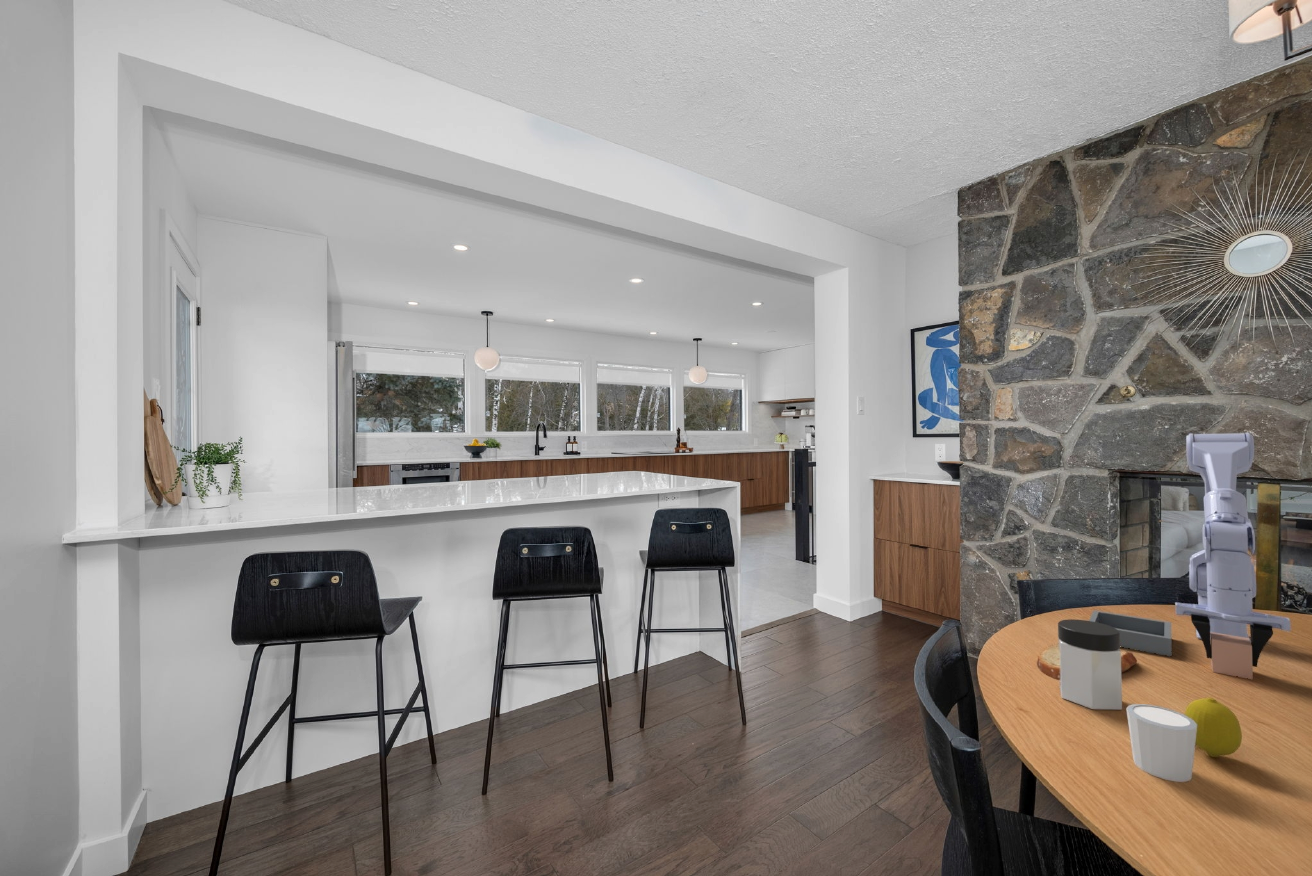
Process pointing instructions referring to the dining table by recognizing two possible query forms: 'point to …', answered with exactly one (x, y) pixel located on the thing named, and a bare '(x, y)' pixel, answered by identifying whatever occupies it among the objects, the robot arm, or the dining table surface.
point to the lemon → (1215, 727)
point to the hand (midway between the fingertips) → (1230, 660)
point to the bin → (1138, 632)
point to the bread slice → (1050, 661)
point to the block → (1231, 655)
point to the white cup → (1162, 741)
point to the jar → (1090, 664)
